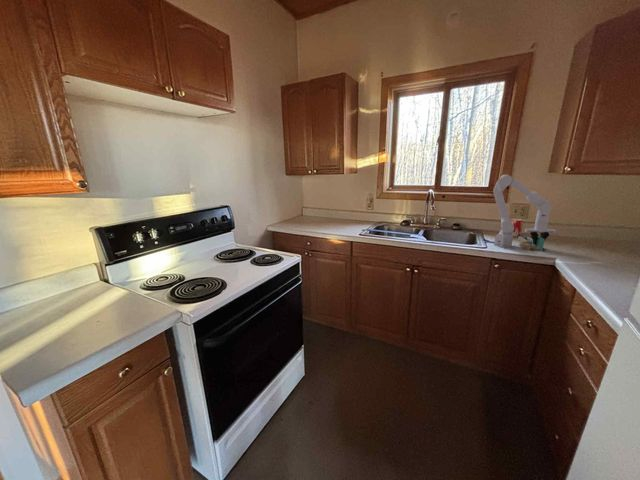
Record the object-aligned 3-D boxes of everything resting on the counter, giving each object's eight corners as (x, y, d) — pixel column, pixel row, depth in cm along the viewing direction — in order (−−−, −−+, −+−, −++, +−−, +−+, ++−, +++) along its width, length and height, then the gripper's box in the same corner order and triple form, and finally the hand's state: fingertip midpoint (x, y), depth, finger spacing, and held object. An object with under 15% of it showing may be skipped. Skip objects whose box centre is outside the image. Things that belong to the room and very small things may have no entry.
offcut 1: (522, 247, 164) (523, 242, 163) (519, 245, 168) (520, 240, 167) (526, 247, 163) (527, 242, 162) (523, 245, 167) (524, 240, 166)
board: (538, 250, 158) (540, 238, 156) (531, 246, 166) (533, 235, 164) (542, 250, 157) (544, 239, 155) (535, 246, 166) (537, 235, 164)
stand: (525, 245, 170) (526, 241, 169) (517, 240, 181) (518, 236, 180) (536, 246, 168) (537, 241, 168) (527, 241, 180) (528, 236, 179)
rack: (525, 251, 159) (525, 248, 159) (518, 246, 169) (518, 243, 168) (545, 252, 157) (546, 249, 156) (537, 247, 166) (538, 244, 165)
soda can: (518, 237, 189) (521, 220, 185) (507, 235, 194) (509, 219, 191) (522, 236, 193) (525, 219, 189) (511, 234, 198) (513, 218, 195)
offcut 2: (525, 249, 159) (526, 245, 159) (522, 247, 164) (523, 243, 163) (529, 250, 159) (530, 245, 158) (526, 248, 163) (527, 243, 162)
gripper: (530, 223, 156) (526, 245, 159) (560, 223, 152) (555, 246, 155) (524, 220, 162) (521, 242, 166) (553, 221, 158) (549, 243, 162)
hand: (537, 244), depth 161 cm, fingers open, 3 cm apart
